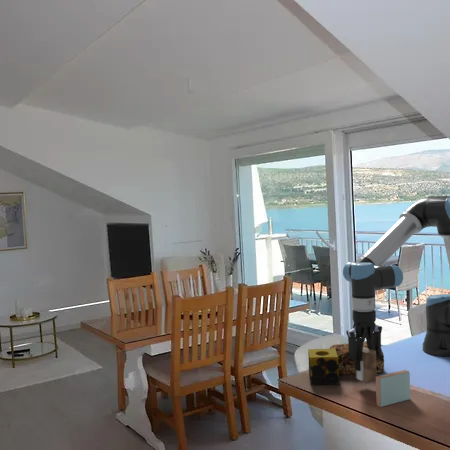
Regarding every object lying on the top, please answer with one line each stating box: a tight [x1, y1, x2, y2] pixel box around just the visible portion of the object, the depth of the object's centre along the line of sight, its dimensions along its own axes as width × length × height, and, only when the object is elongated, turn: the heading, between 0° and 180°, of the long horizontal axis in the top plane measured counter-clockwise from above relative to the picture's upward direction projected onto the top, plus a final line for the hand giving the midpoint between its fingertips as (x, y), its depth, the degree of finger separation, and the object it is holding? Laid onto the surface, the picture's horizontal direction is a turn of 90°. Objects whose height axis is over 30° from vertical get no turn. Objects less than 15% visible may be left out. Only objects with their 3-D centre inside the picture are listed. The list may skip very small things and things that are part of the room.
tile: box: [375, 369, 411, 408], centre depth 158 cm, size 12×2×9 cm, turn 115°
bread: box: [329, 341, 385, 375], centre depth 188 cm, size 19×11×10 cm, turn 85°
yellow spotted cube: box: [307, 348, 340, 386], centre depth 180 cm, size 10×10×10 cm
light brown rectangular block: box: [354, 347, 378, 384], centre depth 170 cm, size 4×6×10 cm, turn 25°
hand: (365, 378), depth 170 cm, fingers closed on light brown rectangular block, 4 cm apart
